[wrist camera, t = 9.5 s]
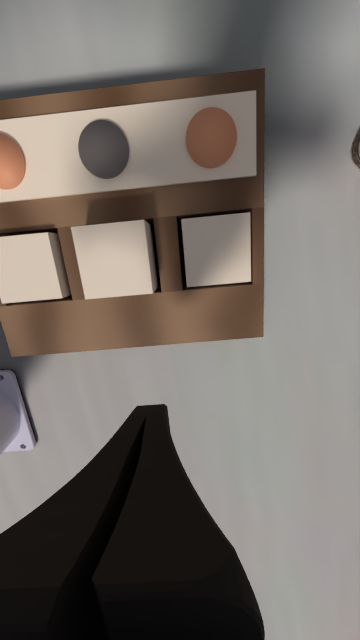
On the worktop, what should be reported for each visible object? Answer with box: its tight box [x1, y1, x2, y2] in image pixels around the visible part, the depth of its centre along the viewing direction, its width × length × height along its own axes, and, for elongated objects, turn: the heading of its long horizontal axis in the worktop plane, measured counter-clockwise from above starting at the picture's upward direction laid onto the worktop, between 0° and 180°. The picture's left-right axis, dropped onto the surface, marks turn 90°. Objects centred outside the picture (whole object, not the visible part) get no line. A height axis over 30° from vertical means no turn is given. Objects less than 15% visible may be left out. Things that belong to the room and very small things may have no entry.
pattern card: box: [0, 90, 256, 203], centre depth 14 cm, size 17×4×1 cm, turn 95°
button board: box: [0, 68, 265, 357], centre depth 16 cm, size 18×15×2 cm
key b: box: [71, 220, 158, 300], centre depth 15 cm, size 4×4×3 cm
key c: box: [181, 212, 251, 287], centre depth 16 cm, size 4×4×3 cm
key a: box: [0, 232, 72, 304], centre depth 16 cm, size 4×4×3 cm
